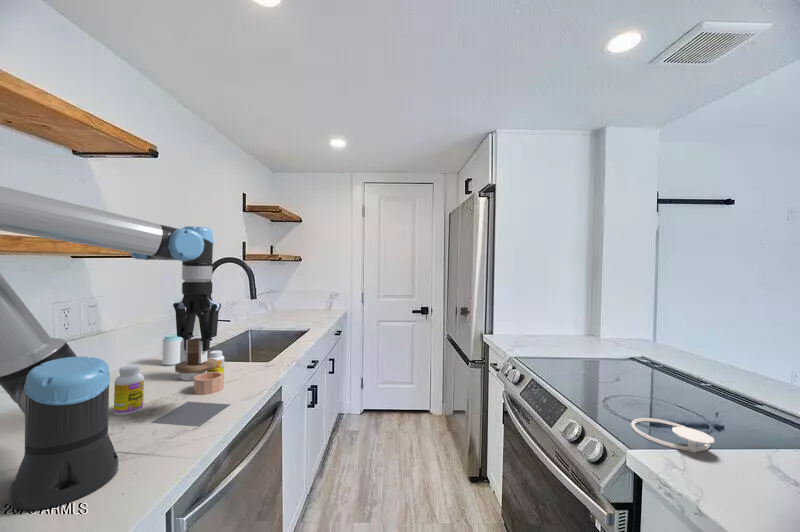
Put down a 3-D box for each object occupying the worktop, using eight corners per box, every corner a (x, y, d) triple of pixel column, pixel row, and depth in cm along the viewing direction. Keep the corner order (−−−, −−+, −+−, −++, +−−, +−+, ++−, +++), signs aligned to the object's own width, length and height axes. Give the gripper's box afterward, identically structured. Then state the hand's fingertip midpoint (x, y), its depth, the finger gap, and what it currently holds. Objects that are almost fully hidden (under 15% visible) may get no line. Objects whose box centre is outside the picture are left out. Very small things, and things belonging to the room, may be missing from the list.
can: (186, 362, 145) (187, 334, 145) (172, 366, 139) (173, 337, 138) (172, 360, 147) (173, 333, 147) (158, 365, 140) (158, 336, 140)
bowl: (212, 396, 110) (213, 381, 110) (187, 394, 111) (188, 379, 111) (228, 386, 118) (228, 372, 118) (205, 385, 119) (205, 371, 119)
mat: (199, 427, 89) (199, 426, 89) (150, 424, 91) (150, 422, 91) (230, 405, 103) (230, 404, 103) (187, 402, 104) (187, 401, 104)
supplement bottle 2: (203, 381, 123) (204, 353, 123) (212, 376, 129) (213, 349, 129) (218, 382, 123) (218, 353, 123) (227, 376, 128) (227, 350, 128)
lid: (200, 374, 92) (201, 344, 92) (165, 372, 93) (166, 342, 93) (224, 363, 103) (225, 336, 103) (192, 361, 104) (193, 334, 104)
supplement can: (199, 372, 132) (200, 334, 132) (209, 377, 128) (210, 337, 127) (175, 378, 126) (176, 337, 126) (185, 383, 121) (186, 341, 121)
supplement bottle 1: (126, 418, 94) (127, 371, 94) (107, 415, 95) (108, 369, 95) (149, 408, 100) (150, 364, 100) (130, 405, 102) (131, 362, 101)
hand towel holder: (677, 408, 100) (744, 445, 80) (676, 423, 100) (743, 463, 80) (618, 405, 101) (669, 440, 80) (617, 419, 101) (668, 459, 81)
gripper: (231, 280, 101) (230, 359, 101) (181, 279, 102) (180, 356, 103) (215, 282, 93) (214, 367, 93) (161, 280, 95) (160, 364, 95)
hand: (196, 361), depth 98 cm, fingers closed on lid, 3 cm apart
